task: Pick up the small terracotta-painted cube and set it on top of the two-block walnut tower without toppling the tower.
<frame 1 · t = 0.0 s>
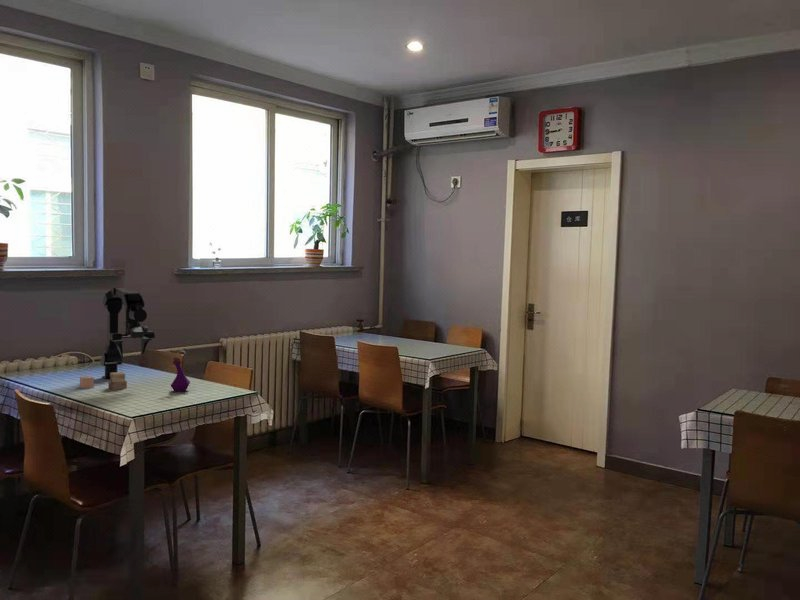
hand: (132, 354, 302), 15 cm above the table, fingers open, 9 cm apart
tower mid: (117, 381, 300), point 3 cm above the table, touching tower base
purple faceted vase: (180, 391, 297), on the table
cube: (86, 387, 301), on the table
tower base: (117, 388, 300), on the table, touching tower mid
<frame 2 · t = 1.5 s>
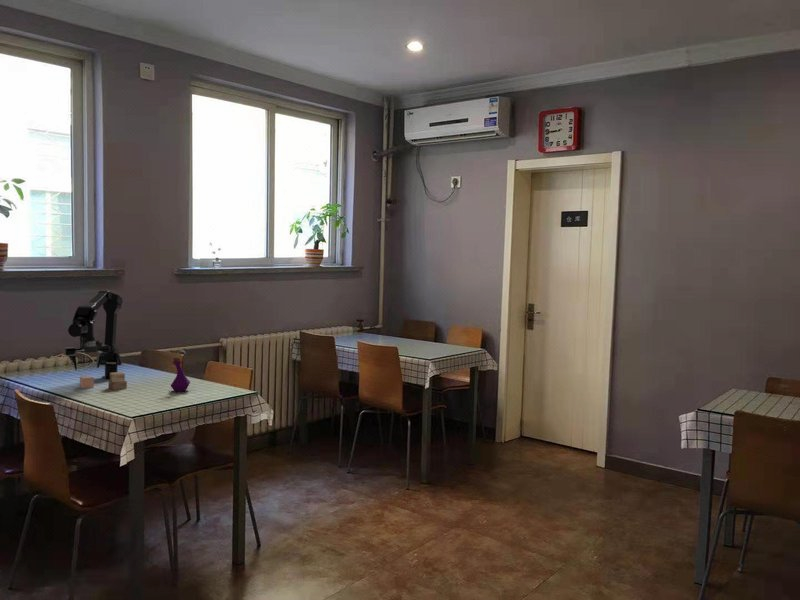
hand: (86, 369, 301), 8 cm above the table, fingers open, 9 cm apart
nothing on the table moved.
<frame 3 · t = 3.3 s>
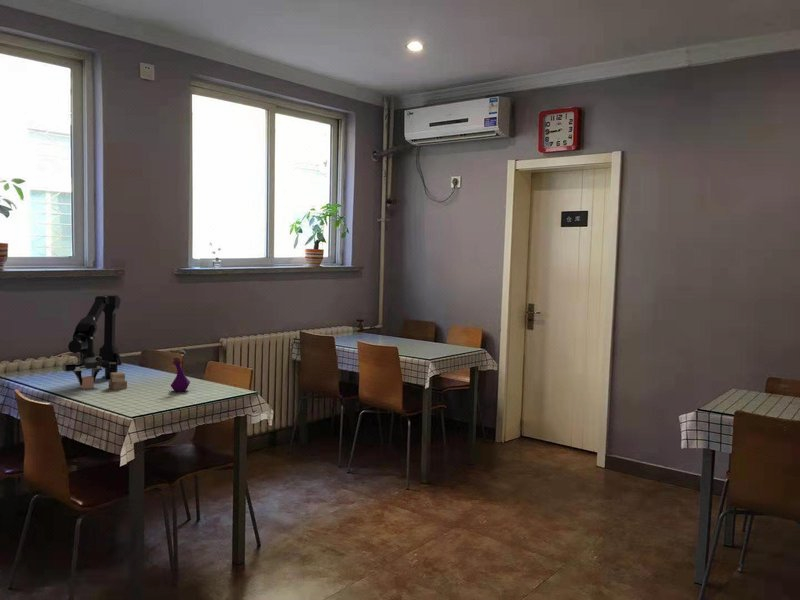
hand: (86, 384, 301), 1 cm above the table, fingers closed on cube, 4 cm apart
cube: (86, 387, 301), on the table, touching gripper
everything else where it was.
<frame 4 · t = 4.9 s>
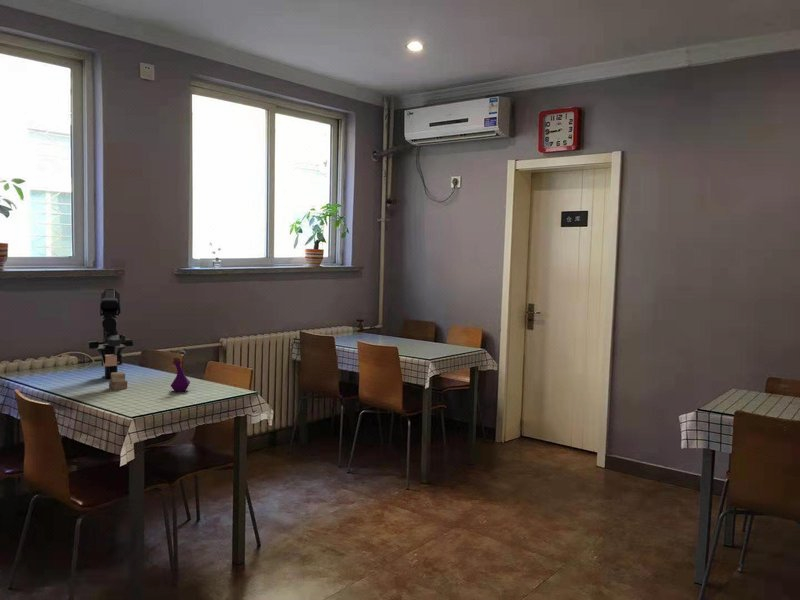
hand: (110, 363, 299), 11 cm above the table, fingers closed on cube, 4 cm apart
cube: (110, 365, 299), point 10 cm above the table, touching gripper
everything else where it was.
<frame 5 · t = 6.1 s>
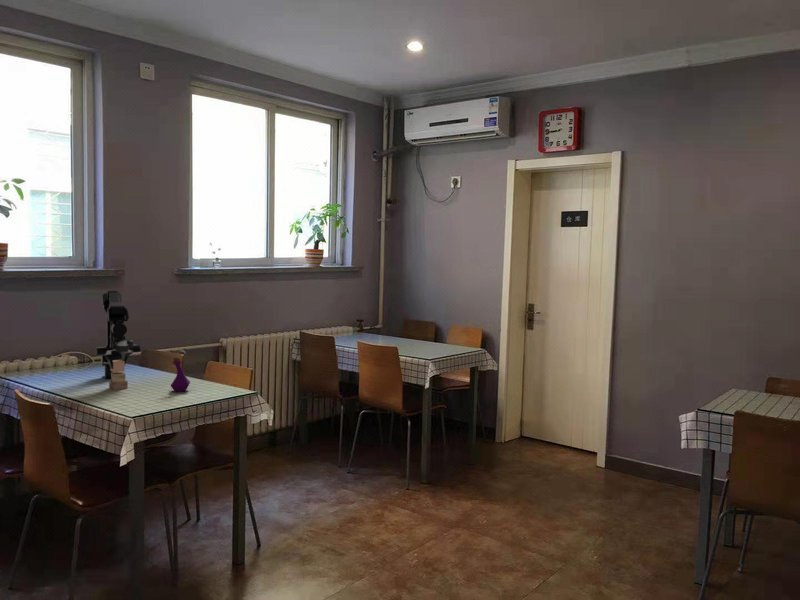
hand: (117, 368, 299), 9 cm above the table, fingers closed on cube, 4 cm apart
cube: (117, 370, 300), point 8 cm above the table, touching gripper
everything else where it was.
when the fingers open (9 cm above the table, at t = 6.3 s): cube moves 1 cm, resting on tower mid.
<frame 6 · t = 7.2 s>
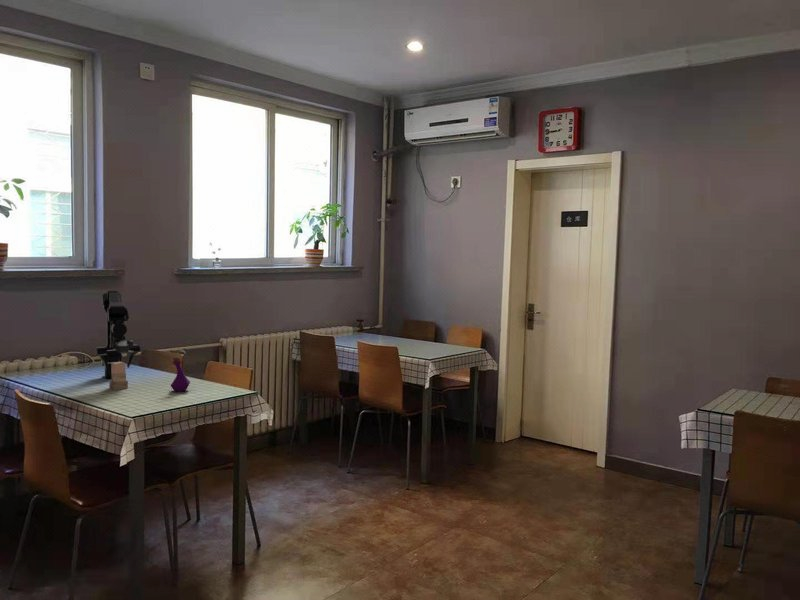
hand: (117, 368, 299), 9 cm above the table, fingers open, 9 cm apart
tower mid: (118, 380, 300), point 3 cm above the table, touching cube, tower base
cube: (118, 372, 300), point 7 cm above the table, touching tower mid
everything else where it was.
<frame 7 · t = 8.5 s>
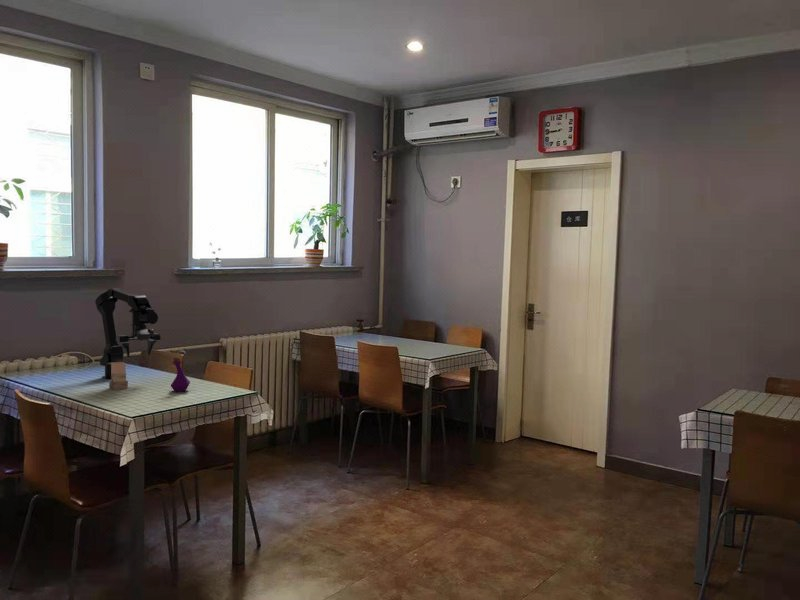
hand: (138, 356, 312), 12 cm above the table, fingers open, 9 cm apart
nothing on the table moved.
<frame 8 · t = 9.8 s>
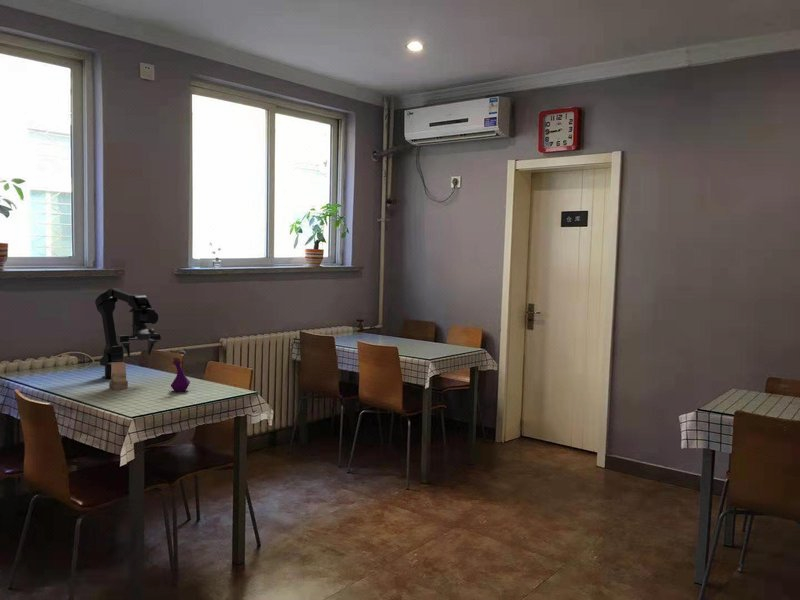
hand: (139, 356, 312), 13 cm above the table, fingers open, 9 cm apart
nothing on the table moved.
at the end: cube 0.1 cm off-centre on the tower base, point 7.0 cm above the tower base's base; cube tilted 0°; tower mid tilted 0° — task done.
